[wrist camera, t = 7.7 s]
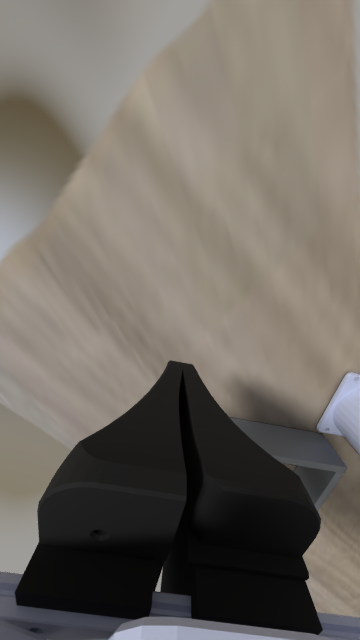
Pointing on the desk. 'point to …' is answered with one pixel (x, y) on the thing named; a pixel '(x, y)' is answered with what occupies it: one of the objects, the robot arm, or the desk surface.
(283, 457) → the u-shaped bracket
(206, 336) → the desk surface
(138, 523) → the robot arm
